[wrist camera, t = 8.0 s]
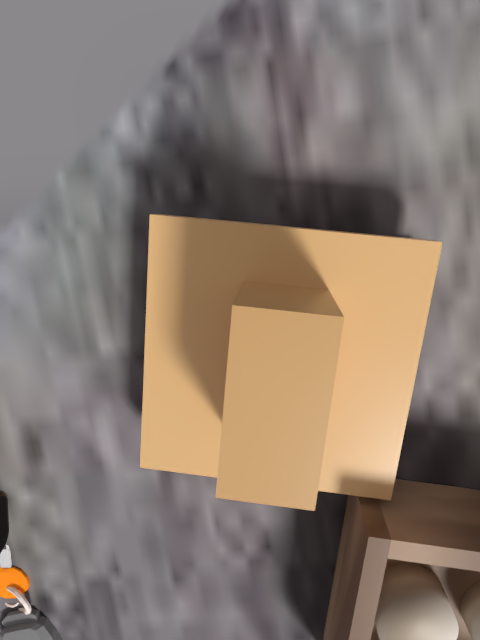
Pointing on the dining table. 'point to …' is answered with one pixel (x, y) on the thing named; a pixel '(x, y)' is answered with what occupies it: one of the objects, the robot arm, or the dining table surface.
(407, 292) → the lid
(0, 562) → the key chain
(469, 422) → the dining table surface
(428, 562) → the walnut box
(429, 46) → the dining table surface
